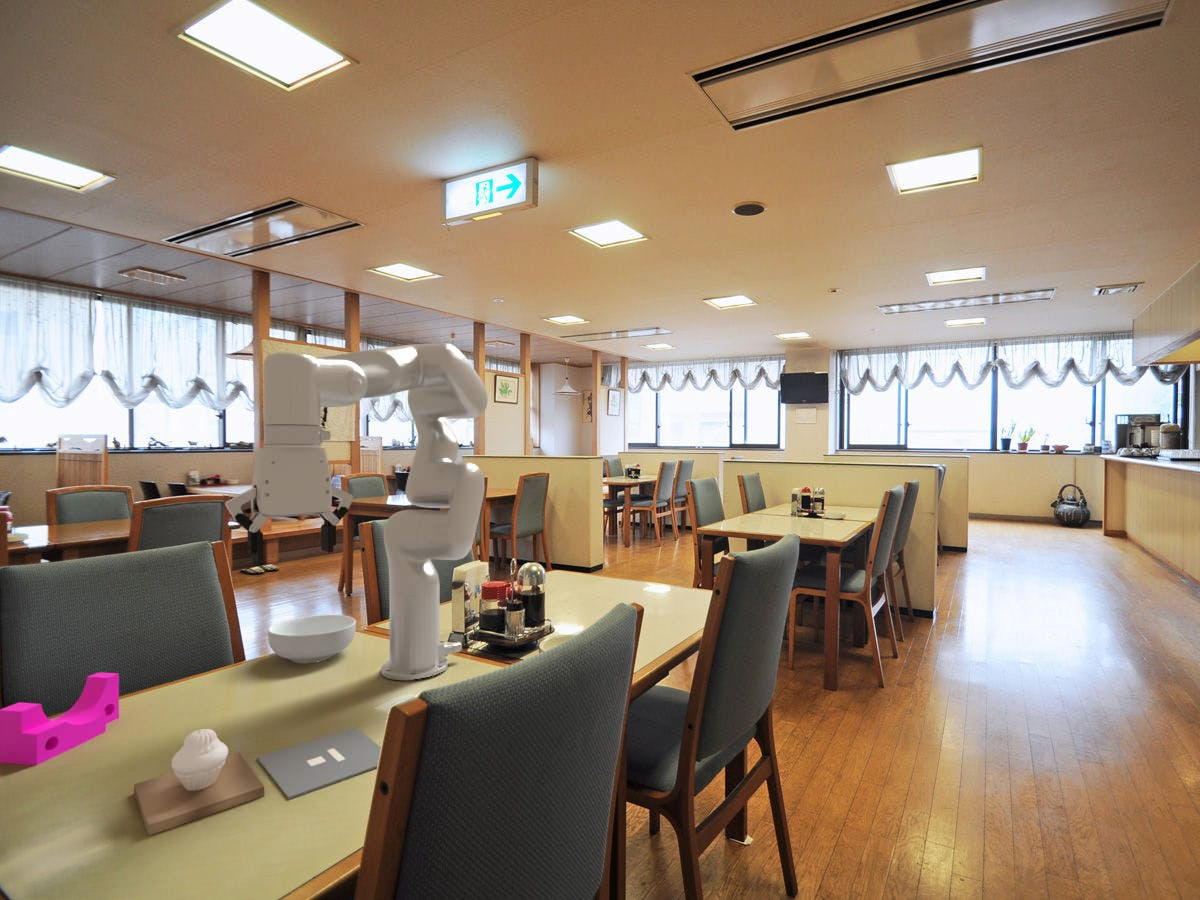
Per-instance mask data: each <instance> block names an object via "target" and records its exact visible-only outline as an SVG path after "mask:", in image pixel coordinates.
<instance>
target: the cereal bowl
mask: <svg viewBox="0 0 1200 900" xmlns="http://www.w3.org/2000/svg"><path fill="white" fill-rule="evenodd" d="M356 626H357V622H356V619H355V618H354V617H352V616H348V615H343V614H320V615H319V614H318V615H309V616H302V617H295V618H291V619H288V620H284V621H281V622H280V621H279V622H277V623H275V624H272V625H271V626H269V628H268V630H267V639H268V644H269V647H270V649H271V650H272V652H273V653H275V655H277V656H279V657H281V658H284V659H288V660H291V661H292V662H293V661H294V662H293V663H296V664H313V663H312V662H315V663H318V662H317V661H320V662H322V661H321V660H324V659H327V658H329V659H331V658H332V657H333V656H334V655H335V654H338V653H339V652H341V651H344V650H345V649H346V648H347V647H349V646H350V644H351V643H352V642H353V640H354V637H355V634H356ZM331 656H332V657H331ZM330 657H331V658H330ZM327 660H328V659H327ZM324 661H325V660H324Z"/></svg>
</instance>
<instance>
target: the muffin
mask: <svg viewBox="0 0 1200 900" xmlns="http://www.w3.org/2000/svg"><path fill="white" fill-rule="evenodd" d="M227 756H229V748H228V746H227V744H225V743H224V742H222V741H221V740H220V738H218V736H217V733H216V732H215V731H214V730H213V729H211V728H204V729H203V728H202V729H198V730H194V731H191V732H190V733H189V734H188V735H187V736H186V737H184V741H183V745H182V746H181V748H180V749H179V750H178V751H177V752H176V753H175V754H174V756H173V757H172V760H171V768H172V770H173V771H174V773H175V775H176V777H177V778H178V779H179V781H180V782H181V783H182V785H183V786H184V787H185V789H186V790H188V791H196V790H197V791H198V790H201V789H204V788H207V787H209V786H211V785H212V784H214V783H215V781H216V779H217V777H218V775H219V773H220V771H221V769H222V767H223V766H224V764H225V760H226V758H227Z"/></svg>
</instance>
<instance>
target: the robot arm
mask: <svg viewBox="0 0 1200 900" xmlns="http://www.w3.org/2000/svg"><path fill="white" fill-rule="evenodd" d="M262 370H263V447H262V448H261V447H260V448H259V447H258V448H257V449H256V453H255V457H254V464H253V472H252V480H251V481H252V482H251V484H252V485H251V488H250V489H247V490H246V491H244V492H242V493H241V494H238V495H236V496H234V497H232V498H230V499H228V500H226V501H225V507H226V509H227V511H228V512H229V514H230V515H231V517H232V519H233V520H234V521H235V522H236V523H237V524H238V525H240V527H242V528H243V529H244V530H245V531H246V532H247V553H248V555H250V556H251V559H252V560H255V561H257V562H258V561H262V560H264V533H263V532H262V531H261V528H262V526H263V525H264V524H265V523H266V522H267V520H269V518H285V517H299V516H301V517H302V516H312V515H318V517H319V518H320V519H321V520H322V521H323V524H321V525H320V546H321V547H320V549H321V550H322V552H326V553H328V554H329V553H333V552H334V547H335V546H336V545H337V526H338V525H339V523H340V521H341V520H342V519H343V518H344V516H346V514H347V513H348V511H349V508H350V507H351V504H352V502H353V500H354V498H355V497H354V495H353V494H351V493H349V492H347V491H345V490H342V489H340V488H339V487H336V486H335V485H332V480H331V469H330V464H329V459H328V453H327V449H326V447H322V445H323V442H324V441H328V440H330V439H331V432H330V431H329V430H324V429H323V426H322V414H321V410H322V408H343V407H344V408H345V407H350V406H354V405H355V404H358V403H359V402H360V401H361V400H362V399H369V398H379V397H385V396H391V395H394V394H398V393H401V392H406V391H408V392H407V405H408V408H409V412H410V414H411V415H412V416H411V417H412V419H413V421H414V424H415V428H416V433H417V436H418V437H417V439H418V440H417V446H416V449H415V453H414V456H413V459H412V463H411V466H410V470H409V473H408V476H407V480H406V485H405V496H406V499H407V501H408V502H409V503H410V504H411V505H413V506H417V507H420V508H431V509H405V510H401V511H396V512H395V513H393V514H392V515H390V517H389V518H388V519H387V520H386V522H385V525H384V527H383V542H384V547H385V548H384V549H385V552H386V553H385V554H386V558H387V563H388V564H387V565H388V573H389V575H388V578H389V580H388V582H389V590H388V591H389V605H388V606H389V608H388V609H389V660H386V662H384V663H383V664H382V665H381V675H382V676H383V677H385V678H387V679H389V680H393V681H394V680H395V681H415V680H414V679H419V680H421V679H420V678H424V677H428V676H432V675H436V674H438V675H440V674H442V673H444V672H445V671H446V670H447V669H448V665H449V664H448V663H449V661H448V659H447V656H449V654H454V653H458V652H461V651H462V650H463V645H462V643H461V642H460V641H456V642H453V643H450V642H449V641H444V642H442V641H441V639H440V637H441V636H440V631H441V630H440V628H441V627H440V625H441V624H440V622H441V621H440V619H441V618H440V617H441V615H440V608H441V607H440V584H441V583H440V577H439V573H438V572H437V569H436V567H435V565H434V564H433V562H432V560H444V561H458V560H461V559H464V558H466V556H468V554H469V553H470V551H471V549H472V546H473V544H474V540H475V536H476V531H477V527H478V523H479V518H480V516H481V515H480V514H481V510H482V505H483V501H484V496H485V477H484V475H483V471H482V470H481V468H480V466H478V465H477V464H475V463H474V462H473V463H472V462H469V461H457V458H458V454H459V448H460V447H459V441H458V438H457V437H456V435H455V434H454V431H453V430H452V429H451V428H450V427H449V425H448V423H447V422H446V420H449V419H451V420H453V419H454V420H455V419H457V420H459V419H460V420H461V419H474V418H475V419H476V418H479V417H480V416H482V415H484V412H485V411H486V409H487V408H488V400H489V399H488V392H487V389H486V386H485V384H484V382H483V380H482V379H481V378H480V375H479V374H478V373H477V371H476V370H475V369H474V367H473V365H472V364H471V362H470V361H469V359H467V357H466V356H465V354H464V353H462V351H461V350H459V348H457V347H456V346H455V345H453V344H451V343H448V342H437V343H418V344H404V345H395V346H390V347H389V346H388V347H382V348H373V349H365V350H360V351H359V350H358V351H354V352H348V353H342V354H341V353H340V354H336V355H335V354H334V355H324V356H319V357H318V356H316V357H315V356H314V355H310V354H306V353H302V352H301V353H300V352H273V353H270V354H269V355H267V356H266V357H265V358H264V360H263V369H262ZM333 497H335V498H337V499H339V504H338V506H336V507H335V509H334V510H333V511H332V510H331V509H332V504H333ZM249 502H250V506H251V511H252V513H253V514H252V516H250V518H249V517H248V516H246V515H245V514H244V512H243V510H242V509H241V508H242V506H243V505H244V504H246V503H249ZM433 509H434V510H433ZM435 509H449V510H435ZM443 671H444V672H443ZM441 672H442V673H441ZM439 673H440V674H439ZM436 676H437V675H436ZM432 677H433V676H432Z"/></svg>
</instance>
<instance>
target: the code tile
mask: <svg viewBox="0 0 1200 900" xmlns="http://www.w3.org/2000/svg"><path fill="white" fill-rule="evenodd" d="M381 748H382V747H381V746H379V744H377V743H376V742H374V740H372V739H371V738H370V737H369V736H367V735H366V734H365V733H364V732H363V731H361V730H360V729H359V728H357V727H350V728H348V729H344V730H342V731H338V732H335V733H332V734H328V735H324V736H322V737H319V738H315V739H312V740H308V741H306V742H302V743H299V744H296V745H292V746H289V747H286V748H282V749H280V750H276V751H272V752H269V753H266V754H263V755H260V756H256V759H257V762H259V764H260V765H261V767H263V768H264V770H265V771H266V772H267V774H268V776H270V777H271V779H272V780H273V781H274V783H275V784H276V785H277V786H278V788H279V789H280V790H281V792H282V793H283V794H284V796H286V798H287V799H288V800H291V799H294V798H298V797H299V796H302V795H305V794H308V793H311V792H314V791H317V790H319V789H322V788H325V787H328V786H330V785H333V784H336V783H338V782H342V781H344V780H347V779H349V778H352V777H355V776H358V775H361V774H363V773H367V772H369V771H373V770H375V769H378V768H377V765H378V760H379V755H380V749H381Z"/></svg>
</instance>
